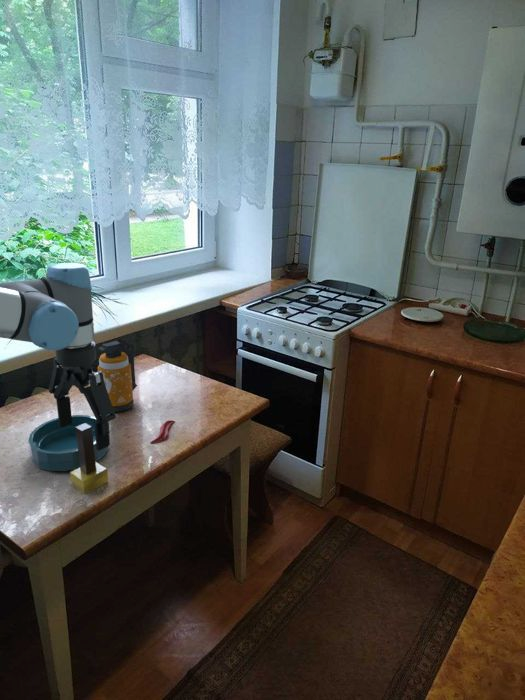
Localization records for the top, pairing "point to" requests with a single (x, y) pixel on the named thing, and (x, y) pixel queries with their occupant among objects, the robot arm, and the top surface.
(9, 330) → the robot arm
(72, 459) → the basin
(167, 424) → the cayenne pepper
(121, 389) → the canister
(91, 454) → the scrub brush
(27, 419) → the top surface
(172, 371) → the top surface
